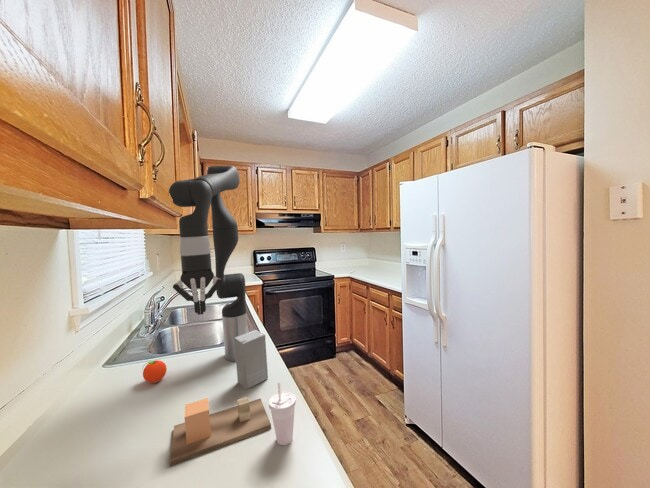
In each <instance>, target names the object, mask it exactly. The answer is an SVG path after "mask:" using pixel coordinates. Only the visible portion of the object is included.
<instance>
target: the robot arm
mask: <svg viewBox="0 0 650 488" xmlns="http://www.w3.org/2000/svg"><path fill="white" fill-rule="evenodd" d="M206 171H207V172H206V174H203V175H200V176H198V177H197V176H196V177H195V178H189V179H183V180H182V179H181V180H176V181H175V182H173V183H172V184H171V185H170V186H169V189H168V194H169V193H170V195H171V197H172V199H173V202H172V203H173V204H174V205H175V206H177V207H180V208H193V207H194V210H193V212H191V213H190V214H187V215H182V216H181V217H179V220H178V226H179V237H180V242H179V254H180V264H181V275H180V276H179V277H180V278H179V280H178V281H177V282H175V283H174V284H172V285H173V286H172V288H173V290H174V291H176V292H177V293H178V294H179V295H180V296H181V297H183V299H185V300H186V301H187V302H193V307H194V313H195V314H197V316H199V315H201V316H202V315H204V313H206V311H207V307H206V300H208V299H211V298H212V297H213V295H214V294H215V293H216V295H217V297H218V299H223V300H224V299H230V298H231V299H233V298H236V299H235V300H234V301H232V302H231V303H229V304H227V305H225V306H224V307H222V309H221V316H222V317H221V318H222V330H223V342H224V343H223V344H224V357H225V360H226V361H229V362H236V354H235V341H234V338H235V337H238V336H240V335H243V334H246V333H248V332H249V331H248V329H249V328H248V326H249V325H248V314H247V302H246V301H247V299H246V278H245V276H244V274H243V273H242V272H241V273H229V274H228V273H227V274H225V270H226V266H227V263H228V261H229V259H230V257H231V255H232V254H233V252H234V251H235V249H236V247H237V244H238V242H239V230H238V222H237V220H236V219H235V218H234V216H233V214H232V213H231V212H230V210H229V209H228V208H227V207H226V205H225V203H224V202H223V198H222V196H221V193H223V192H226V191H232V190H235V189H237V188H238V187H239V184H240V174H239V171H238V169H237V168H236V167H235V166H234V165H229V164H228V165H212V166H209V167H208V168H207V170H206ZM210 207H211V208H210ZM210 209H211V225H212V226H211V227H212V228H211V229H212V238H213V239H212V240H213V247H214V248H213V249H214V258H215V259H214V261H215V263H214V264H215V274H214V272H213V270H212V269H213V268H212V259H211V257H212V256H211V245H210V239H209V230H208V219H209V214H210V213H209V212H210ZM210 283H212V286H211V287H210V289H208V291H207V293H206V288H208V286H209V285H210ZM184 285H185V286H186V287H187V289H189V290H191V292H192V295H191V294H189V292H188V291H187V290H185V289H184ZM198 290H200V292H199V293H198Z"/></svg>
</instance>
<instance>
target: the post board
mask: <svg viewBox="0 0 650 488" xmlns="http://www.w3.org/2000/svg"><path fill="white" fill-rule="evenodd" d="M236 402H237V405H235V406H233V407H229V408H225V409H223V410H219V411H216V412H213V413H209V415H210V428H211V436H210V437H207V438H205V439H202V440H199V441H196V442H193V443H190V444H187V441H186V429H185V421H184V422H181V423H179V424H175V425H174V426H173V433H172V434H173V435H172V443H171V451H170V459H169V463H170V465H169V466H170V467H172V466H174V465H177V464H179V463H182V462H185V461H187V460H190V459H193V458H196V457H198V456H201V455H204V454H206V453H209V452H211V451H214V450H216V449H219V448H222V447H225V446H228V445H230V444H233V443H235V442H239V441H242V440H244V439H247V438H249V437H252V436H254V435H257V434H259V433H262V432H265V431H268V430H270V429H272V424H271V421H270V419H269V416H268V414H267V411H266V409H265V406H264V403H263V400H262V399H261V397H260V398H257V399H254V400H251V401H250V400H249V397H248V396H245V397H242V398H240V399H237V401H236Z"/></svg>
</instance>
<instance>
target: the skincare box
mask: <svg viewBox="0 0 650 488" xmlns="http://www.w3.org/2000/svg"><path fill="white" fill-rule="evenodd" d="M234 341H235V354H236V361H235V363H236V375H237V376H236V377H237V383H238V384H239V385H240V386H242V387H243V388H244V389H245V390H248V389H251V388H252V387H254V386H256V385H258V384H261V382H263V381H265V380H267V379H268V378H269V374H268V361H267V360H268V359H267V356H268V355H267V341H266V334H264V333H262V332H261V331H259V330H257V329H253V330H252V331H248V333H246V334H243V335H240V336H238V337H235V338H234Z"/></svg>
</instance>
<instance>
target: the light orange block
mask: <svg viewBox="0 0 650 488" xmlns="http://www.w3.org/2000/svg"><path fill="white" fill-rule="evenodd" d="M184 407H185V408H184V422H185V429H186V441H187V444H190V443H193V442H196V441H199V440H202V439H205V438H207V437H210V436H211V428H210V404H209V397H207V398H203V399H199V400H197V401H193V402H188V403H186V404H185V406H184Z"/></svg>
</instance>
